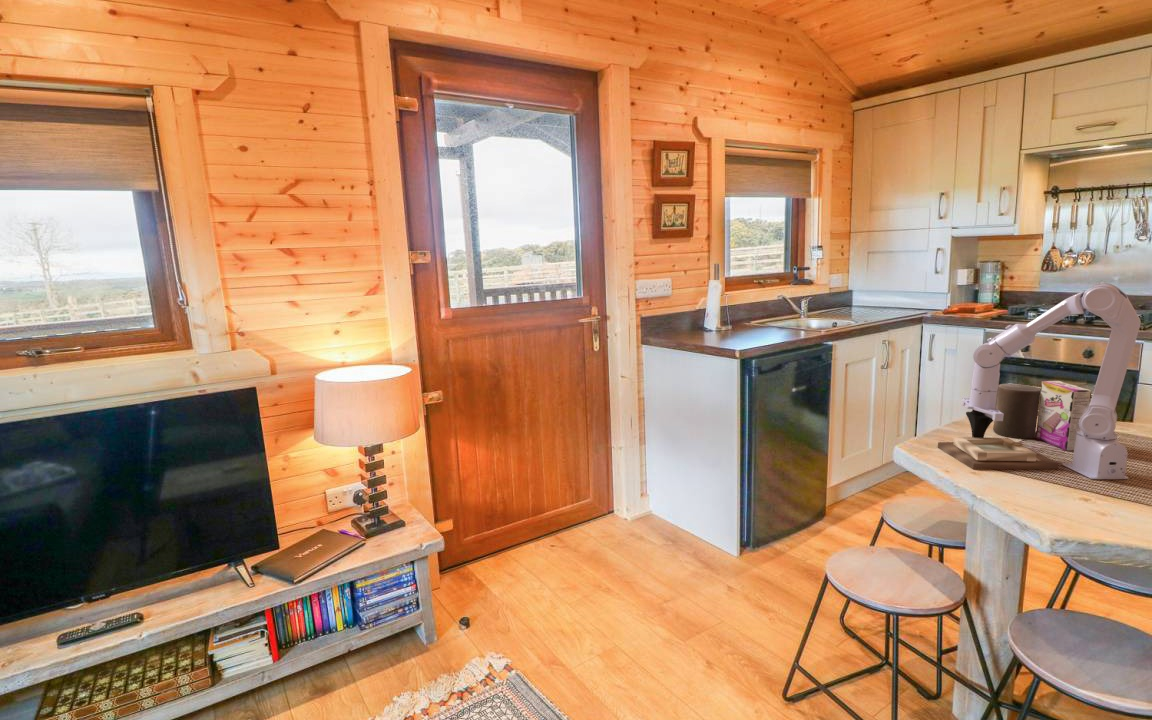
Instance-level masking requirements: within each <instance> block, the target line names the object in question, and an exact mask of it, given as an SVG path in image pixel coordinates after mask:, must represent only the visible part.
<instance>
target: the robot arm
mask: <svg viewBox="0 0 1152 720" xmlns="http://www.w3.org/2000/svg"><path fill="white" fill-rule="evenodd" d="M1087 311H1088V312H1090V313H1091V314H1093V315H1095V316H1097V317H1100V318H1101V319H1102V321H1104V322H1105V323H1106V324H1107V325H1108V326H1109V328H1111V330H1110V334H1109V337H1108V342H1107V345H1106V347H1105V351H1104V355H1103V357H1102V362H1101V365H1100V369H1099V372H1098V376H1097V379H1096V382H1095V385H1094V389H1093V391H1092V394H1091V399H1090V404H1089V405H1088V406H1087V407H1086V408H1085V409H1084V410H1083V412H1082V417H1081V418H1080V420H1079V427H1080V429H1077V430H1076V438H1075V446H1074V451H1073V453H1072V454H1073V455H1072V462H1061V464H1062V466H1064V467H1065V468H1067V469H1070V470H1073V471H1074V472H1076V473H1079V474H1080V475H1083V476H1084V477H1087V478H1089V479H1091V480H1128V479H1129V477H1128V476H1127V475H1126V470H1127V463H1128V462H1127V461H1128V456H1129V453H1128V449H1127V448H1126V446H1124V445H1123V444H1121V443H1120V441H1119V440H1118V434H1117V433H1116V432H1115V430H1116V428H1117V427H1116V426H1117V425H1116V424H1117V421H1118V414H1117V411H1116V407H1117V403H1118V400H1119V397H1120V393H1121V391H1122V390H1121V389H1122V387H1123V383H1124V380H1125V377H1126V374H1127V370H1128V367H1129V364H1130V360H1131V357H1132V354H1133V351H1134V347H1135V344H1136V342H1137V341H1136V340H1137V337H1138V334H1139V331H1140V328H1141V318H1140V317H1139V315H1138V313H1137V312H1136V311H1137V310H1136V309H1135V308H1134V306H1133V304H1132V302H1131V301H1130V300H1129V297H1128V295H1127V294H1126V293H1125V292H1124V291H1122V290H1121V289H1120V288H1119V287H1118V286H1116V285H1114V284H1111V283H1106V282H1104V283H1103V282H1102V283H1098V284H1094V285H1093V286H1091V287H1090V288H1088V289H1087V290H1083V291H1082V290H1081V291H1080V292H1078V293H1076V294H1074V295H1072V296H1068V297H1067V298H1064V300H1062V301H1060V302H1058V303H1057V304H1056V305H1054V306H1052V307H1051V308H1050V309H1048V310H1046V311H1044V312H1043V313H1042V314H1040V315H1039V316H1037V317H1036V318H1034V319H1032V320H1031V321H1029V322H1028V323H1015V324H1014V325H1012V324H1009V325H1007V326H1005V330H1004V331H1003V332H1002V331H1001V332H1000V333H998V334H997V335H996V336H994V337H989V338H987V340H986V341H987V342H985V343H983V344H980V345H979V346H978V347H977V348H976V349H975V350H974V351H973V355H972V359H973V361H974V365H973V371H972V376H971V385H970V392H969V397H968V398H966V397H965V398H964V397H962V399H961V403H960V404H961V406H962V407H964V408H965V409H967V410H971V411H966V412H965V415H966V416H967V419H968V421H969V424H970V429H971V437H981V438H985V434H986V432H987V430H988V428H989V426H990V425H991V424H992V423H993V422H994V421H1003V416H1004V414H1003V413H1001V412H1000V411H999V410H998V409H997V407H996V403H997V394H998V386H999V385H1000V384H999V382H1000V376H1001V373H1000V369H1001V362H1002V361H1003V360H1004V358H1006V357H1007V358H1009V357H1011V356H1012V355H1014V354H1016V353H1017V352H1019V351H1021V350H1023V349H1024V348H1026V347H1028V346H1030V345H1032V344H1033V343H1034V342H1035V338H1036V335H1037V334H1038V333H1040V332H1042V331H1044V330H1046V329H1047V328H1049V327H1051V326H1053V325H1054V324H1056V323H1058V322H1060V321H1061V320H1063V319H1065V318H1067V317H1068V316H1073V315H1075V316H1076V315H1085V314H1086V312H1087Z"/></svg>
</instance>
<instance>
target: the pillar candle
mask: <svg viewBox="0 0 1152 720" xmlns="http://www.w3.org/2000/svg"><path fill="white" fill-rule="evenodd" d="M1040 394H1041V387H1037V386H1032V385H1027V384H1020V382H1018V384H1016V383H1000V384H998V392H997V399H996V407H997V409H998V410H999V411H1000V412H1001V413H1003V414H1004V416H1003V421H994V420H993V427H992V430H993V432H994V433H995V434H997V435H999V436H1002V437H1003V436H1004V437H1006V438H1014V439H1018V440H1019V439H1020V440H1023V439H1025V440H1026V439H1034V438H1036V430H1037V422H1038V413H1039V403H1040Z"/></svg>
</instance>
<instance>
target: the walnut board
mask: <svg viewBox="0 0 1152 720" xmlns="http://www.w3.org/2000/svg"><path fill="white" fill-rule="evenodd" d="M953 442H954V441H944V442H941V441H938V442H937V448H938V450H939V449H940V450H941V451H942V452H944V453H946V454H947V455H949V456H950V457H953V458H954V459H955V460H957V461H958V462H960V463H962V464H964V465H965V466H967V467H969V469H970V468H971V470H1058V468H1059V462H1057V461H1055V460H1053V459H1051V458H1050V457H1046V456H1045V455H1043V454H1040V452H1039V453H1038V452H1036V451H1034V450H1032V449H1030V448H1028V449H1029V450H1031V451H1033V452H1035V453H1037V455H1036V461H989V460H976V459H975V458H973V457H972V456H970V455H969V454H967V453H966V452H964V451H962V450H961V449H959V448H958V447H956V446H955V445H953Z"/></svg>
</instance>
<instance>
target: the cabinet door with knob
mask: <svg viewBox="0 0 1152 720" xmlns="http://www.w3.org/2000/svg"><path fill="white" fill-rule="evenodd" d="M952 442H953V445H955V446H956V447H958V448H959V449H961V450H962V451H964V452H966V453H967V454H969V455H970V456H972V457H973V458H975V459H976V460H989V461H1036V455H1037V453H1038V452H1037V453H1035V452H1036V451H1035V452H1033V451H1034V450H1032V449H1030V448H1028V447H1026V446H1024V445H1023V443H1021V442H1017V441H1014V440H1012V438H1010V437H983V438H981V437H972V436H970V437H968V436H967V437H966V436H954V437H953V441H952ZM1029 449H1030V450H1029ZM1031 450H1032V451H1031Z"/></svg>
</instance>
